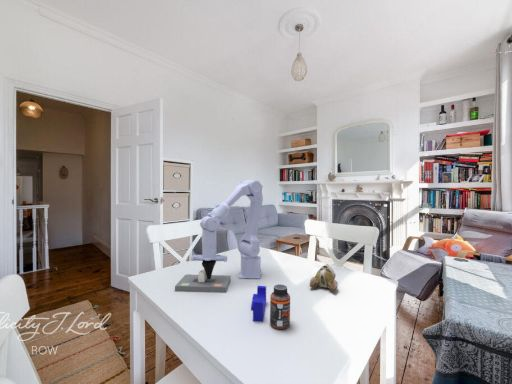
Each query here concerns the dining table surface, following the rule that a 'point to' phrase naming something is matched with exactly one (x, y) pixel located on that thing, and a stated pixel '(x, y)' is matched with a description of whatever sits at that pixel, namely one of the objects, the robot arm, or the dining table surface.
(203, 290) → the switch panel
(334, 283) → the ceramic sculpture
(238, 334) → the dining table surface
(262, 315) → the blue stepped block
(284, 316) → the supplement bottle
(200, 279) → the knob
